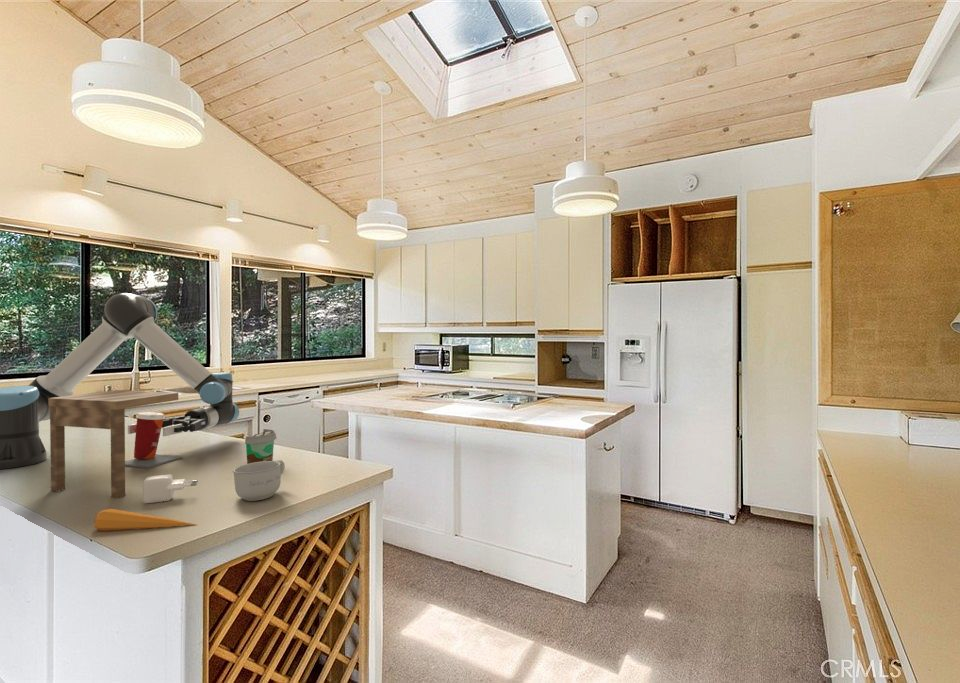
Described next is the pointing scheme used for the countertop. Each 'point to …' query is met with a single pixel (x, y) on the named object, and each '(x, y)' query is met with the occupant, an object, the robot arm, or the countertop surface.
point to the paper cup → (147, 434)
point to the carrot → (131, 521)
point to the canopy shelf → (101, 414)
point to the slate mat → (151, 461)
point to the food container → (260, 446)
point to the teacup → (258, 479)
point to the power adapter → (163, 487)
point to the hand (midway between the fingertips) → (145, 430)
